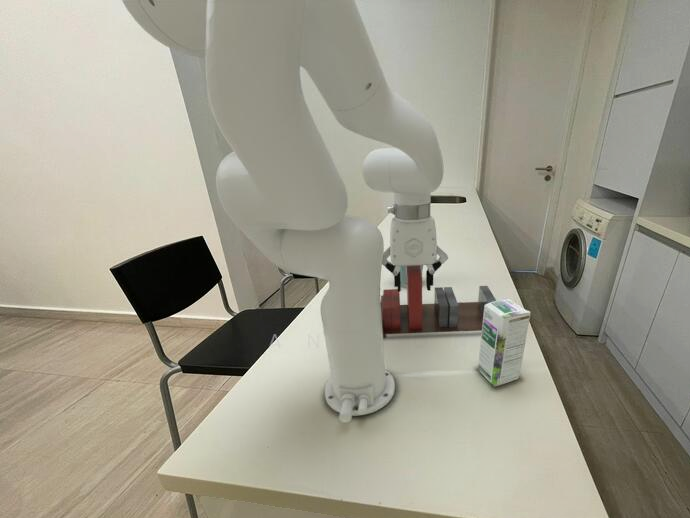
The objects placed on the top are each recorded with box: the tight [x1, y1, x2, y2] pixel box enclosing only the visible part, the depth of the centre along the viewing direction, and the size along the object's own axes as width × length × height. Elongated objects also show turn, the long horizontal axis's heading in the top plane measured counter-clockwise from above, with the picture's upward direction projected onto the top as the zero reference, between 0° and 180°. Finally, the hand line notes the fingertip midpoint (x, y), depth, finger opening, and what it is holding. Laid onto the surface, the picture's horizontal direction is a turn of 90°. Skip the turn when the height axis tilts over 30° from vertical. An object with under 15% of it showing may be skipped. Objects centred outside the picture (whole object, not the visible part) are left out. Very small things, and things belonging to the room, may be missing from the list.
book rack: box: [380, 285, 497, 339], centre depth 80 cm, size 14×28×7 cm, turn 91°
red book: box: [406, 265, 423, 329], centre depth 78 cm, size 11×3×13 cm, turn 1°
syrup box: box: [477, 298, 531, 388], centre depth 60 cm, size 6×6×14 cm
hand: (413, 288), depth 78 cm, fingers open, 6 cm apart
